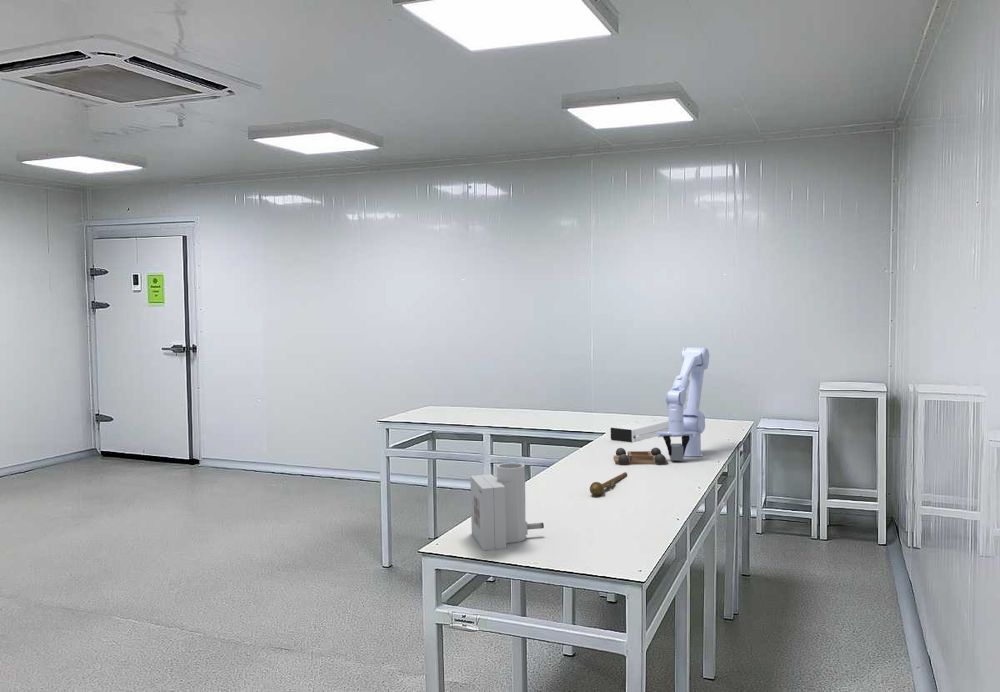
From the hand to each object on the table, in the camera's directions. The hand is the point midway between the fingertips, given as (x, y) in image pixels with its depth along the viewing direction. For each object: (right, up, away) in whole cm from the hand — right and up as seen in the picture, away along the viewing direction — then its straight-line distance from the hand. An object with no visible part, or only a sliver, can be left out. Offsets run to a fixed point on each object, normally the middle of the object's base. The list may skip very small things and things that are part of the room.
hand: (676, 455), depth 321 cm
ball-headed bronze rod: (-31, -6, -39) cm, 51 cm away
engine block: (0, -2, 0) cm, 2 cm away
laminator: (-3, 0, +60) cm, 60 cm away
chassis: (-14, -3, +2) cm, 14 cm away
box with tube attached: (-66, -10, -99) cm, 120 cm away
